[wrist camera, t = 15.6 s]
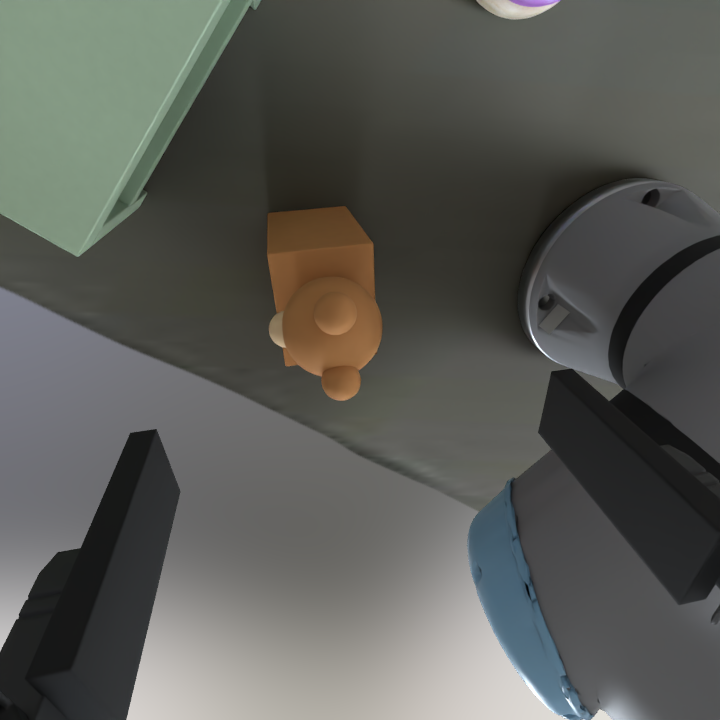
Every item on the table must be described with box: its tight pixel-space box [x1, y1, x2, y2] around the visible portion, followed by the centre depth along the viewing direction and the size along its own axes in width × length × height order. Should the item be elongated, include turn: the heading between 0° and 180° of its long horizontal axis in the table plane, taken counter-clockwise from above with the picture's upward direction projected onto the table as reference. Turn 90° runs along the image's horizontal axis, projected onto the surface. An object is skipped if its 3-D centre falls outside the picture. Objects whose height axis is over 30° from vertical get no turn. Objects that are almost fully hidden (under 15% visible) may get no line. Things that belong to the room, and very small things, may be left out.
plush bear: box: [267, 206, 382, 401], centre depth 24 cm, size 6×6×14 cm
